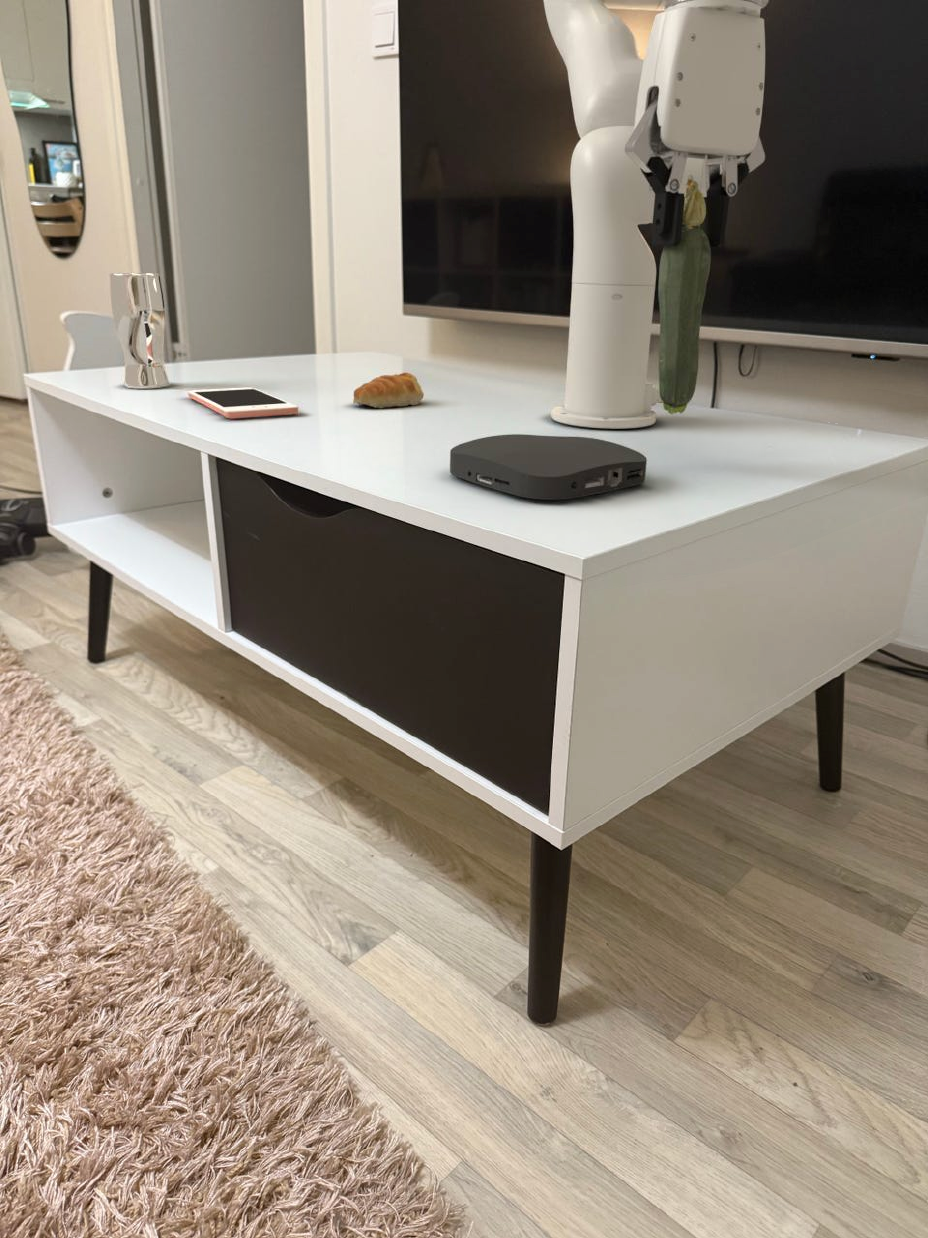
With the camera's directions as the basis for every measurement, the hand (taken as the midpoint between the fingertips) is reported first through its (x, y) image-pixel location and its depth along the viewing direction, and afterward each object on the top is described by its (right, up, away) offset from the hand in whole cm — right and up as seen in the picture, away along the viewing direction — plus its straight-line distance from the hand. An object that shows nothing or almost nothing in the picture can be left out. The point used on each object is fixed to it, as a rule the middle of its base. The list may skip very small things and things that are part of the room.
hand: (687, 243), depth 79 cm
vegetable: (0, -14, +6) cm, 15 cm away
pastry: (-29, -5, +40) cm, 50 cm away
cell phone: (-48, -6, +35) cm, 60 cm away
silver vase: (-65, 0, +50) cm, 82 cm away
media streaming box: (-12, -20, +2) cm, 24 cm away
